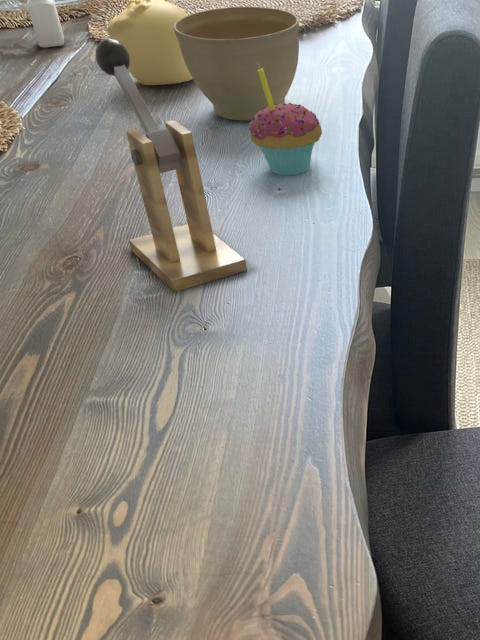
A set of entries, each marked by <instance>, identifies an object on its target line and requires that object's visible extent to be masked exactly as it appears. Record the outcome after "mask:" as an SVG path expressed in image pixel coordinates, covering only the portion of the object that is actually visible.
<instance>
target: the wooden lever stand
mask: <svg viewBox="0 0 480 640" xmlns="http://www.w3.org/2000/svg"><path fill="white" fill-rule="evenodd" d="M164 125H165V129H166V128H167V129H168V130H169V132H170V134H171V136H172V138H173V139H174V141H175V143H176V145H177V147H178V149H179V151H180V167H179V169H175V170H174V171H175V173H176V179H177V183H178V187H179V191H180V196H181V200H182V204H183V209H184V213H185V218H186V223H187V224H186V223H185V224H182V225H178V226H175V227H173V224H172V219H171V215H170V211H169V206H168V202H167V198H166V194H165V189H164V186H163V182H162V177H161V173H160V172H159V168H158V164H157V160H156V156H155V151H154V147H153V143H152V141H151V140H149V139H148V138H147V137H146V135H144V134H143V133H142V132H140V131H139V130H138V129H136V128H132V129H127V130H126V131H125V133H126V138H127V141H128V145H129V149H130V156H131V159H132V162H133V165H134V169H135V172H136V177H137V181H138V184H139V188H140V189H139V190H140V193H141V197H142V201H143V204H144V209H145V213H146V216H147V220H148V224H149V228H150V231H151V232H150V234H146V235H145V234H144V235H142V236H139V237H135V238H131V239H129V240H128V242H129V246H130V249H131V250H130V251H132V253H134V255H136V256H137V258H139V259H140V260H141V261H142V262H143V263H144V264H145V265H146V266H147V267H148V268H149V269H150V270H151V271H152V272H153V273H155V274H156V276H158V277H159V278H160V280H162V281H163V282H164V283H165V284H166V285H167V286H168V287H169V288H170V289H171V290H172V291H173V292H175V293H176V292H180V291H182V290H185V289H189V288H192V287H196V286H200V285H203V284H206V283H207V284H208V283H209V282H213V281H216V280H219V279H223V278H228V277H230V276H232V275H237V274H240V273H243V272H247V271H248V267H247V261H246V259H245V258H244V257H243V256H242V255H241V254H239V253H238V252H236V250H234V249H233V248H232V247H231V246H230V245H228V244H227V243H226V242H225V241H223V240H222V239H221V238H220V237H218V236H217V235H216V234H215V233H214V232H213V227H212V222H211V217H210V213H209V209H208V204H207V203H208V202H207V199H206V193H205V189H204V185H203V178H202V175H201V170H200V166H199V159H198V156H197V151H196V145H195V141H194V137H193V132H192V131H190V130H189V129H188V128H186V127H185V126H183V125H182V124H181V123H179V122H177V121H176V120H175V119H173V120H172V119H171V120H168V121H167V120H166V121H165V122H164Z"/></svg>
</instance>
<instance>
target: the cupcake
mask: <svg viewBox="0 0 480 640" xmlns="http://www.w3.org/2000/svg"><path fill="white" fill-rule="evenodd" d="M256 63H257V65H258V68H259V70H258V73H259V76H260V79H261V83H262V86H263V89H264V92H265V96H266V99H267V102H268V106H269V107H266V108H265V109H262V110H261V111H259V112H258V113H257V114H256V115H254V116H255V117H254V118H253V120H250V121H249V123H248V125H249V128H248V130H249V137H250V141H251V142H252V143H254V144H255V145H256V147H259V149H260V151H261V153H262V154H263V156H264V158H265V160H266V162H267V164H268V166H269V168H270V171H271V172H272V173H273V174H276V175H279V176H296V175H300V174H303V173H305V172H307V171H308V170H309V169H310V167H311V161H312V153H313V149H314V145H315V143H317V142H319V140H320V138H321V136H322V134H323V130H322V126H321V122H320V119H318V117H317V115H316V113H313V111H312V110H309V109H308V108H306V107H305V106H304V105H301V104H297V103H292V102H288V103H285V104H278V105H276V104H274V103H273V100H272V96H271V93H270V90H269V86H268V83H267V80H266V76H265V73H264V70H263V69H261V68H260V66H259V63H258V62H256Z"/></svg>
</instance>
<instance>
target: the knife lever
mask: <svg viewBox="0 0 480 640" xmlns="http://www.w3.org/2000/svg"><path fill="white" fill-rule="evenodd" d="M94 52H95V54H94V55H95V60H96V61H95V62H96V63H97V65H98V67H99V68H100V70H101V71H103V73H105V74H107V75H109V76H111V77H115V79H116V81H117V82H118V85H119V86H120V88H121V90H122V92H123V94H124V95H125V97H126V99H127V101H128V103H129V105H130V107H131V108H132V110H133V112H134V114H135V116H136V118H137V120H138V121H139V124H140V125H141V127H142V129H143V131H144V132H145V133H144V134H145V137H147V138H148V139H149V140H151V141H152V143H153V147H154V151H155V156H156V160H157V164H158V168H159V172H160V174H163V173H167V172H172V171H176V170H175V169H179V167H180V151H179V149H178V147H177V145H176V143H175V141H174V139H173V138H172V136H171V134H170V132H169V130H168V129H167V128H166V127H165V128H162V129H160V128H159V127H158V124H157V123H156V121H155V119H154V117H153V115H152V113H151V111H150V109H149V107H148V106H147V104H146V102H145V100H144V98H143V96H142V95H141V93H140V91H139V89H138V87H137V85H136V83H135V82H134V79H133V78H132V75H131V73H130V72H129V70H128V68H129V64H130V57H129V53H128V51H127V49H126V47H125V46H124V45H123V44H122V43H121V42H119V41H117V40H115V39H110V38H105V39H102V40H101V41H100V42H99V43H98V44H97V45H96V48H95V51H94Z"/></svg>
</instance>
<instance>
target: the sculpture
mask: <svg viewBox="0 0 480 640" xmlns="http://www.w3.org/2000/svg"><path fill="white" fill-rule="evenodd" d="M188 15H189V14H188V13H187V12H186V11H185V10H183V9H182V8H181V7H180V6H178V5H176V4H175V3H172V2H169V1H166V0H128V2H127V3H126V6H125V8H124V9H123V10H121V11H120V12H119V14H118V15H116V16H115V17H113V18H112V19H110V21H109V22H108V25H107V33H108V36H109V39H115V40H117V41H119V42H121V43H122V44H123V45H124V46H125V47H126V49H127V51H128V53H129V57H130V64H129V68H128V69H127V71H128V72H129V74H130V75H131V77H133V78H134V79H135V80H136V81H137V82H139V83H140V85H141V84H142V85H144V86H163V85H173V84H175V85H176V84H180V83H181V84H182V83H185V82H188V81H189V82H190V81H192V80H193V78H192V76H191V74H190V73H189V71H188V69H187V66H186V64H185V62H184V59H183V56H182V53H181V49H180V45H179V41H178V39H177V37H176V34H175V31H174V24H175V23H176V22H177V21H178V20H180V19H181V18H183V17H185V16H188Z"/></svg>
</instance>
